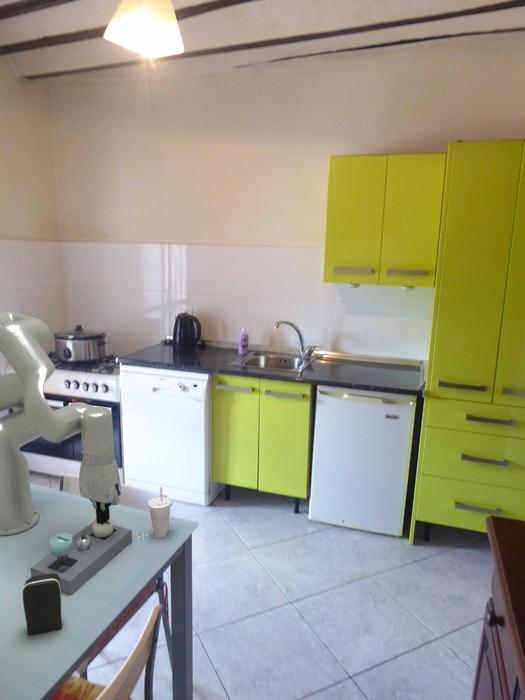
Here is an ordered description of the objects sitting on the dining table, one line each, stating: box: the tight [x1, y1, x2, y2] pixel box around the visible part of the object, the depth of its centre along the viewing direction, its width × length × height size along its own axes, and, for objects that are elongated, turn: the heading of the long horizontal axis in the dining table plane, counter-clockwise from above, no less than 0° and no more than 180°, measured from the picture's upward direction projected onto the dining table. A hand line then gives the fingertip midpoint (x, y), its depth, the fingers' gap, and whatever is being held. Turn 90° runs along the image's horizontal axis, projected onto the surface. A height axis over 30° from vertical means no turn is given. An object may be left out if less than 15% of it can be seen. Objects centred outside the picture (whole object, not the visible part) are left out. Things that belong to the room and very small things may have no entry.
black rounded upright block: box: [22, 573, 64, 636], centre depth 97 cm, size 7×4×11 cm, turn 108°
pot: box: [77, 534, 91, 551], centre depth 118 cm, size 3×3×4 cm
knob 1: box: [48, 531, 73, 562], centre depth 112 cm, size 5×5×6 cm
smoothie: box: [147, 486, 173, 539], centre depth 129 cm, size 6×6×14 cm
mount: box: [29, 521, 133, 596], centre depth 119 cm, size 12×22×4 cm, turn 158°
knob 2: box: [92, 516, 114, 540], centre depth 125 cm, size 5×5×6 cm
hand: (103, 521), depth 124 cm, fingers closed
